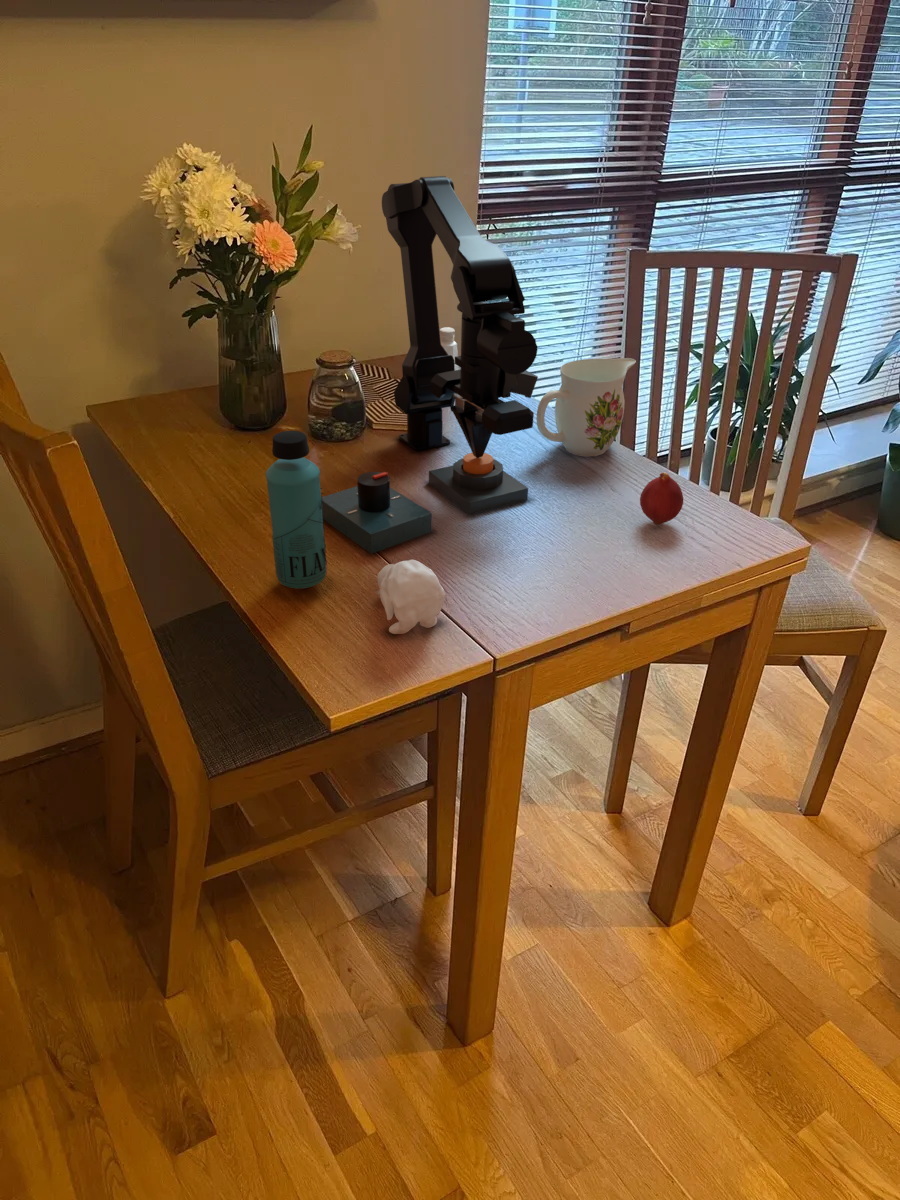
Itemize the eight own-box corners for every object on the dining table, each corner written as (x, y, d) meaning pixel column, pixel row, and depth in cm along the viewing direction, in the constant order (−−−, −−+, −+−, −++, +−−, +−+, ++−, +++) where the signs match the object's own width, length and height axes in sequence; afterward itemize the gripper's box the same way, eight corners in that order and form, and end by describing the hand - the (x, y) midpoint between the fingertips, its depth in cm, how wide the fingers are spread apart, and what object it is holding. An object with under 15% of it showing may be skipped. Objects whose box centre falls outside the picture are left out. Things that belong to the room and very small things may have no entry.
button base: (428, 482, 140) (428, 458, 138) (484, 469, 144) (485, 445, 142) (469, 515, 131) (470, 490, 129) (527, 500, 135) (529, 475, 133)
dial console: (319, 517, 130) (318, 497, 128) (378, 497, 135) (377, 478, 134) (371, 554, 122) (370, 533, 120) (431, 532, 127) (431, 511, 125)
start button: (457, 466, 136) (457, 455, 135) (482, 460, 138) (483, 449, 137) (473, 478, 133) (473, 466, 132) (498, 471, 135) (499, 460, 134)
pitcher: (516, 447, 151) (520, 365, 144) (604, 428, 159) (613, 349, 151) (554, 473, 143) (560, 388, 136) (645, 451, 151) (656, 369, 143)
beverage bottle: (286, 604, 111) (271, 451, 100) (269, 579, 116) (252, 430, 105) (336, 592, 114) (327, 441, 103) (317, 567, 118) (306, 420, 108)
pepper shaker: (429, 391, 172) (429, 332, 166) (434, 381, 177) (435, 323, 171) (458, 393, 171) (459, 334, 165) (462, 383, 176) (464, 325, 170)
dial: (370, 515, 124) (369, 486, 122) (352, 503, 127) (350, 475, 125) (396, 506, 126) (396, 477, 124) (378, 494, 129) (377, 466, 127)
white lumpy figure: (393, 580, 99) (359, 539, 109) (397, 648, 103) (364, 602, 113) (447, 569, 101) (409, 529, 111) (449, 636, 105) (412, 592, 115)
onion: (653, 510, 133) (660, 459, 129) (687, 524, 130) (696, 472, 125) (629, 523, 130) (636, 471, 125) (663, 538, 126) (671, 485, 122)
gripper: (569, 362, 123) (560, 469, 131) (494, 325, 136) (490, 424, 145) (499, 375, 118) (494, 485, 126) (428, 336, 131) (428, 438, 140)
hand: (478, 456), depth 134 cm, fingers closed
